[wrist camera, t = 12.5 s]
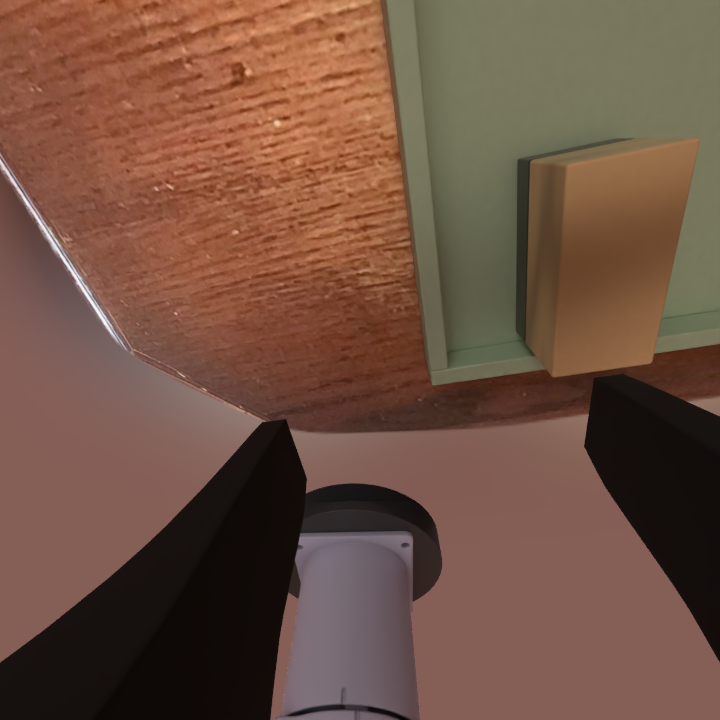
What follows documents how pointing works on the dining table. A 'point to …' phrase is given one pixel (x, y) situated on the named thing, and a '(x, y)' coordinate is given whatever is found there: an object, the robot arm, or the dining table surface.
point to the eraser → (599, 249)
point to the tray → (541, 149)
